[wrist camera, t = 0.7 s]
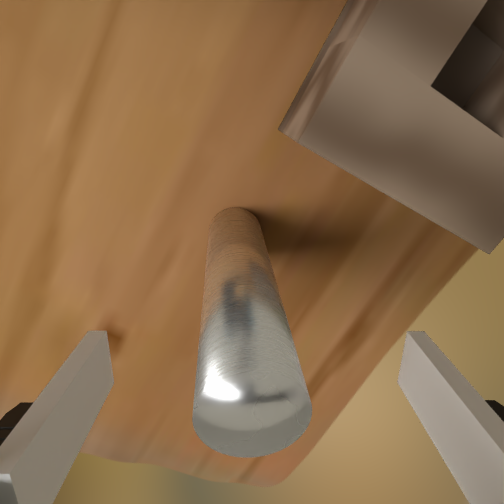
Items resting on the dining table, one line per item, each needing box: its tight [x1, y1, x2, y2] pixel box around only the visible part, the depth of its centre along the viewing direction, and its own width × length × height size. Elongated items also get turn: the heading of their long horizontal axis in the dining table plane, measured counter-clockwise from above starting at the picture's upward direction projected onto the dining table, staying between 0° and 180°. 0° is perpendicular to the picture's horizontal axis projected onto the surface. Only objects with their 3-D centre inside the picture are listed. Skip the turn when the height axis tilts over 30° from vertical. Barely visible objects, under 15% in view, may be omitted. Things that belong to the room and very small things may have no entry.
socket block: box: [278, 0, 504, 254], centre depth 20 cm, size 16×14×7 cm
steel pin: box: [193, 207, 312, 457], centre depth 19 cm, size 4×4×17 cm
